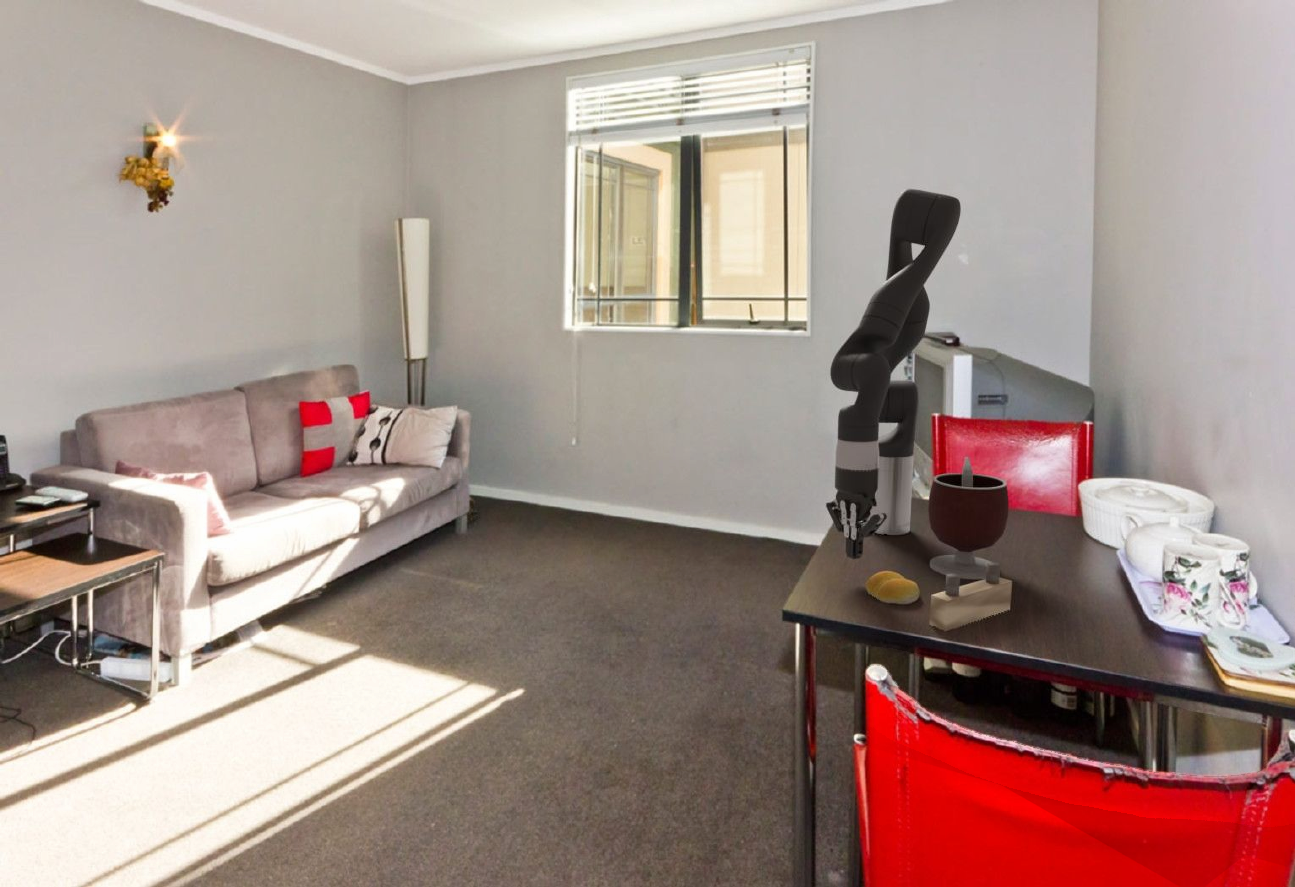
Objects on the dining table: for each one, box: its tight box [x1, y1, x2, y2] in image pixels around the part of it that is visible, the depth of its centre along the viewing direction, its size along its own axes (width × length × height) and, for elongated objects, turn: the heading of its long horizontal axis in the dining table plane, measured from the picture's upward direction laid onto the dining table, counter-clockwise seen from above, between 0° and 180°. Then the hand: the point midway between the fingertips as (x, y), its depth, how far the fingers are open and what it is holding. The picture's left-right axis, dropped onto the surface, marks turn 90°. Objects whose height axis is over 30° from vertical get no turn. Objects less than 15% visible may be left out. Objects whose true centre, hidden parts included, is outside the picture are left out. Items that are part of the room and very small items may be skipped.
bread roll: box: [865, 570, 920, 605], centre depth 137 cm, size 8×9×4 cm
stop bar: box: [929, 561, 1013, 632], centre depth 127 cm, size 3×16×8 cm, turn 121°
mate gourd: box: [927, 456, 1010, 580], centre depth 150 cm, size 16×14×20 cm
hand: (853, 557), depth 144 cm, fingers closed
